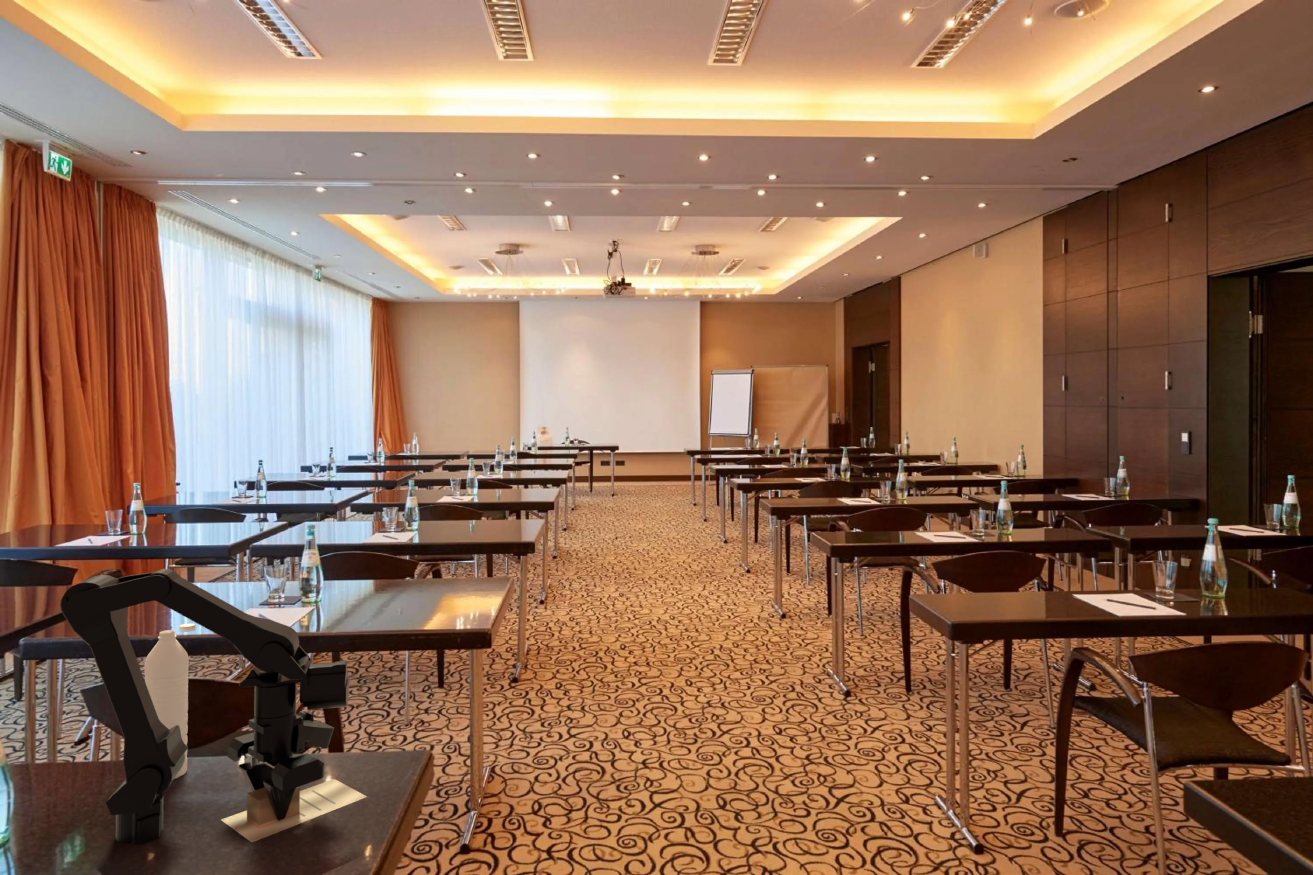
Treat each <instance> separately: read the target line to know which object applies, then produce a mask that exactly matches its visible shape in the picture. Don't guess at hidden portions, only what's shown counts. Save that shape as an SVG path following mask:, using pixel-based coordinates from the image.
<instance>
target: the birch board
mask: <svg viewBox="0 0 1313 875" xmlns="http://www.w3.org/2000/svg"><path fill="white" fill-rule="evenodd" d="M366 798H368V796H367V795H365V794H363V793H361V792H359V791H357V790H356V789H354V788H352V787H350V786H349V785H346V784H345V783H342V782H341V781H339V780H337V779H335V778H333V779H329V780H327V781H325V782H321V783H318V784H316V785H313V786H311V787H308V788H305V789H302V790H300V811H299V814H296V815H293V816H291V817H288V818H286V819H283V820H280V821H278V822H275V823H272V824H270V825H267V826H265V827H262V828H258V827H256V826H255V825H254V824H252V823H251V822H249V821H248V820H247V809H246V810H244V811H241V812H238V813H236V814H233V815H231V816H227V817H225V818H221V819H220V820H221V822H223V823H224V824H226V825H227V826H229V828H231V829H232V830H234V831H235V832H237V834H239V835H241V836H242V837H244V838H245V839H246V840H248V841H249V842H250V843H255V842H256V841H259V840H262V839H264V838H267V837H269V836H273V835H274V834H277V833H280V832H282V831H285V830H287V829H290V828H293V827H295V826H298V825H299V824H302V823H305V822H308V821H311V820H313V819H316V818H318V817H321V816H322V815H326V814H328V813H330V812H333V811H335V810H338V809H340V808H343V807H346V806H348V805H351V804H353V803H356V802H359V801H360V800H363V799H366Z"/></svg>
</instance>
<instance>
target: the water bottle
mask: <svg viewBox="0 0 1313 875" xmlns="http://www.w3.org/2000/svg"><path fill="white" fill-rule="evenodd" d="M178 629H179V630H178V631H179V632H180V633H188V632H194V631H195V630H196V624H195V623H182V624H180V625H179V627H178ZM176 637H178V636H177V635H176V630H174V629H166V630H162V631H159V636H158V637H157V639H158V641H157V643H156V644H155V645H154V647H152V649H151V651H150V652H149V653H148V654H147V656H146V658H145V660H144V665H143V666H144V680H145V683H146V686H147V689H148V691H149V694H150V697H151V699H152V702H153V705H154V708H155V710H156V713H157V716H158V718H159V720H160V722H161V723H162V724H164V725H165V726H166V727H167V728H168V729H171V728H173V727H174V726H176V725H179V728H180V732H181V738H182V740H183V742H184V744H185V745H186V746H187V747H188V735H187V734H188V729H189V728H188V727H189V726H188V722H189V720H188V719H189V715H188V711H189V698H188V697H189V685H188V684H189V662H190V660H189V654H188V652H187V651H186V649H185V648H184V647H183V645H182V644H181V643H180V642H179V640H177V638H176ZM187 756H188V749H187V750H186V752H185V761H184V764H183V766H182V767H181V769H180V771H179V772H178V774H177V775H176V777H175V778H174V779H173V780H175V779H179V778H180V777H182V776H183V775H186V772H187V771H188V757H187Z"/></svg>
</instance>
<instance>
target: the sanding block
mask: <svg viewBox="0 0 1313 875" xmlns="http://www.w3.org/2000/svg"><path fill="white" fill-rule="evenodd" d="M300 789H301V786H300V787H297V788H296V790H295V792H294V794H293V797H292V800H291V803H290V806H289V809H288V811H287V814H286V817H285V818H284V819H286V818H288V817H291V816H293V815H296V814H299V811H300V791H301V790H300ZM246 810H247V820H248V821H249V822H251V823H252V824H254V825H255V826H256V827H258V828H262V827H265V826H267V825H270V824H272V823H275V822H278V820H277V819H276V816H275V814H274V811H273V808H272V806H271V803H270V800H269V797H268V794H267V791H266V789H265V787H264V788H261V789H258V790H255V791H253V790H252V791H250V792H247V793H246ZM282 820H283V819H282Z"/></svg>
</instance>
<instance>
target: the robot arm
mask: <svg viewBox="0 0 1313 875" xmlns="http://www.w3.org/2000/svg"><path fill="white" fill-rule="evenodd" d="M154 601H155V602H158V603H159V604H161V605H163V606H164V607H167V608H168V609H170V610H172V611H174V612H176V613H177V614H179V615H180V616H181V615H182V616H183V617H185V618H187V619H189V620H190V621H192V622H194V623H196V624H197V625H199V626H201V627H203V628H205V629H206V630H208V631H210V632H212V633H214V634H216V635H218V636H219V637H221V638H223V639H225V640H227V641H228V642H229V643H230V644H232V645H233V646H234V648H235V649H236V650H237V651H238V652H239V653H240V654H241V656H242V657H244V658H245V659H246V660H247V661H249V663H251V664H252V665H253V667H252V668H251V669H250V671H249V672H248V674H245V675H244V676H243V678H242V679H241V681H240V682H239V685H238V686H239V687H240V688H251V687H254V701H253V702H254V705H253V706H254V707H253V710H254V712H253V713H254V714H253V716H254V718H251V719H249V720H248V728H249V729H252V730H253V731H252V732H250V733H246V734H243V735H239V736H236V737H234V738H232V740H231V741H230V742H229V744H227V758H228V759H230V760H232V761H233V762H235V763H236V762H238V761H239V762H240V760H241V758H242V755H243V757H244V761H243V763H241V764H239V765H238V768H239V770H240V771H241V772H242V774H243V776H244V777H245V780H246V781H247V783H248V785H249V787H250V788H251V790H252V791H255V790H258V789H261V788H264V787H265V789H266V791H267V794H268V797H269V800H270V803H271V806H272V808H273V811H274V814H275V816H276V819H277V820H278V821H280V820H282V819H284V818H285V817H286V814H287V811H288V809H289V806H290V803H291V800H292V797H293V794H294V792H295V790H296V788H297V787H300V788H301V787H303V786H305V785H307V784H311V783H314V782H316V781H319V780H322V779H323V778H325V763H324V762H323V761H322V760H320V759H319V758H316V757H315V756H313V755H311V754H309V753H304V754H301V755H298V756H295V757H294V755H293V754H298V753H302V752H305V751H306V747H311V748H321V749H324V750H326V749H328V748H329V745H330V743H331V739H332V736H333V733H334V729H335V727H333V726H332V725H329V724H327V723H325V722H323V721H319V720H317V719H315V718H314V714H313V713H311V712H309V711H310V710H313V711H314V710H323V709H325V710H326V709H334V708H335V709H336V708H347V707H348V704H349V698H350V697H349V696H350V677H349V671H348V661H347V660H340V661H339V660H338V661H334V662H329V663H328V662H327V663H314V664H313V659H312V658H311V656H310V655H309V654H308V653H307V652H306V651H305V650H304V649H303V647H302V646H301V645H300V639H299V635H298V632H297V631H296V630H295V629H294V628H293V627H291V626H289V625H285V624H284V623H280V622H277V621H275V620H271V619H268V618H264V617H260V616H259V617H258V616H255V615H251V614H248V613H247V612H244V611H242V610H241V609H239V608H237V607H235V606H234V605H232V604H231V603H228V602H226V601H225V600H223V599H221V598H220V597H217V596H216V595H214V594H212V593H210V592H209V591H207V590H205V589H203V588H202V587H200V586H198V585H196V584H194V583H192V582H190V581H189V580H187V579H186V578H183V577H182V576H180V575H179V574H178V573H177V571H174V570H173V569H169V568H161V569H158V570H156V571H153V572H146V573H138V574H131V575H127V576H122V577H114V576H111V575H109V574H100V575H99V574H98V575H94V576H92V577H90V578H87V579H86V580H83V581H81V582H78V583H77V584H74V585H71V587H69V588H68V589H67V590H66V591H65V592H64V594H63V596H62V598H61V599H60V604H59V605H60V606H59V607H60V611H61V613H62V615H63V617H64V618H65V620H66V621H67V623H68V624H69V626H70V628H71V630H72V631H73V632H74V634H76V635H77V636H78V637H79V638H81V640H82V641H83V642H85V643H86V644H87V645H88V646H89V648H90V651H91V652H92V655H93V658H94V661H95V663H96V666H97V669H98V671H99V675H100V677H101V680H102V683H103V685H104V687H105V690H106V692H107V696H108V698H109V702H110V705H111V706H112V710H113V712H114V715H115V717H116V720H117V723H118V726H119V728H120V731H121V734H122V736H123V755H122V756H123V758H122V764H123V771H124V772H123V773H124V780H123V781H122V783H120V785H119V786H118V787H117V788H116V789H115V791H114V792H113V793H112V794H111V796H110V797H109V798H108V799H107V800H106V802H105V805H106V807H107V809H108V812H109V813H110V815H111V816H115V840H116V842H118V843H121V844H133V845H137V846H140V845H143V844H146V843H149V842H152V841H156V840H157V839H159V838H161V832H162V831H163V829H164V791H166V790H167V789H168V788H169V787H170V785H171V783H172V782H173V781H174V780H175V779H174V778H175V777H176V775H177V774H178V772H179V771H180V769H181V767H182V766H183V764H184V761H185V752H186V750H187V751H188V749H189V746H188V745H187V746H186V745H185V744H184V742H183V740H182V738H181V732H180V728H179V725H176V726H174V727H173V728H171V729H168V728H167V727H166V726H165V725H164V724H162V723H161V722H160V720H159V718H158V716H157V713H156V710H155V708H154V705H153V702H152V699H151V697H150V694H149V691H148V689H147V686H146V683H145V677H144V674H143V672H142V670H141V666H140V664H139V661H138V659H137V656H136V653H135V651H134V648H133V645H132V643H131V639H130V637H129V634H128V616H129V615H128V614H129V612H128V611H129V610H128V608H130V607H133V606H134V607H135V606H138V605H140V604H144V603H145V604H146V603H148V602H149V603H150V602H154ZM297 684H299V703H300V704H301V705H302V706H303V708H306V709H307V710H308V711H302V710H300V711H299V712H298V713H297Z"/></svg>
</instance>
